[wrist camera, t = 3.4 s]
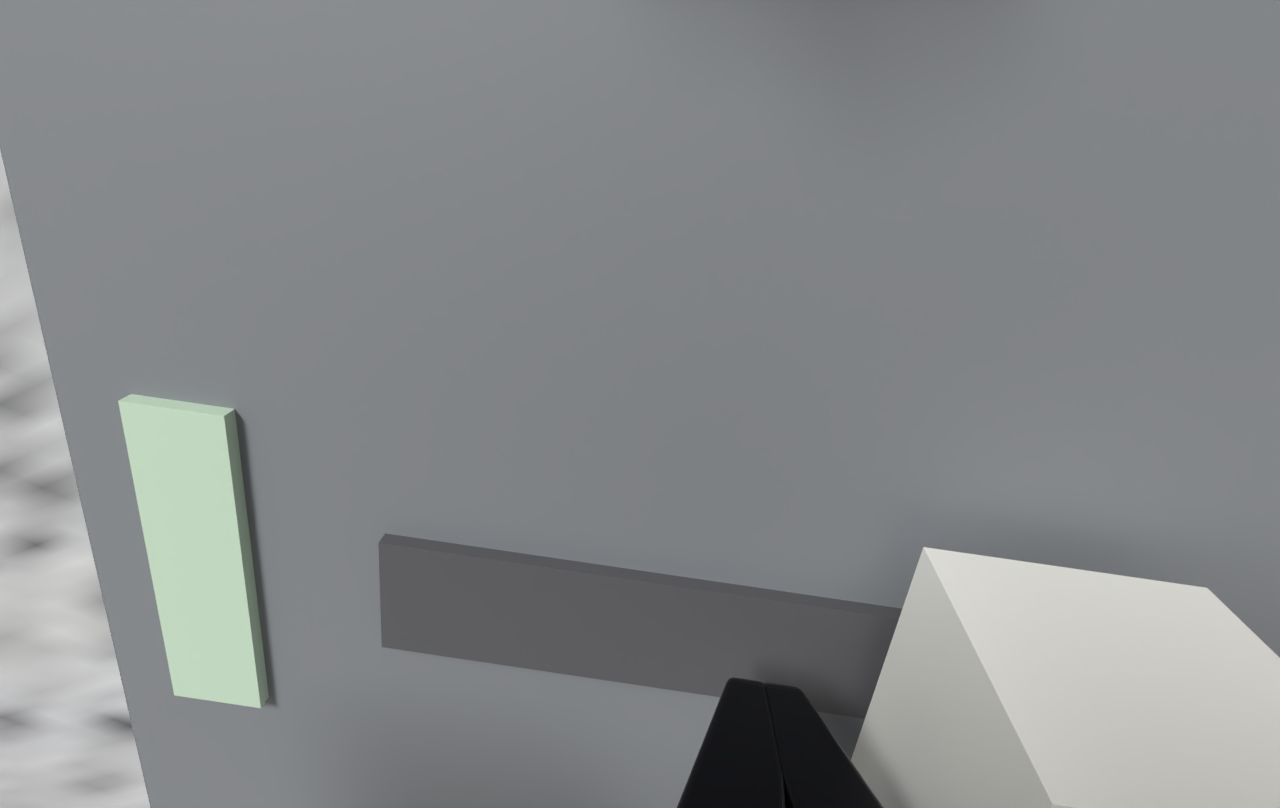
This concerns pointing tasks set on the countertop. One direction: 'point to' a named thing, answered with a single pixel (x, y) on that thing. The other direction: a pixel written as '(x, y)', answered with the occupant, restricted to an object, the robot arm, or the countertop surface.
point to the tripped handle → (1069, 694)
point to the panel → (625, 355)
